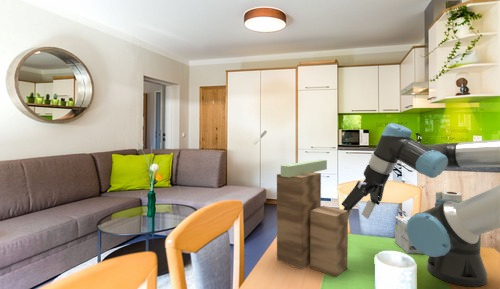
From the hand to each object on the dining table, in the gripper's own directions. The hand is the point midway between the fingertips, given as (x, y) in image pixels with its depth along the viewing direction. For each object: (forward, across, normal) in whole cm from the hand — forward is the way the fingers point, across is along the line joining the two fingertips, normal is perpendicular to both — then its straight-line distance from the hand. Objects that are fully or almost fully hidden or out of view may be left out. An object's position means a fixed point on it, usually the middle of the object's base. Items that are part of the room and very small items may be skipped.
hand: (353, 219), depth 104 cm
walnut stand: (+14, +17, +2) cm, 22 cm away
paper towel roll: (+4, -34, +22) cm, 40 cm away
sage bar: (-11, +14, -16) cm, 24 cm away
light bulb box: (+8, -23, +14) cm, 27 cm away
